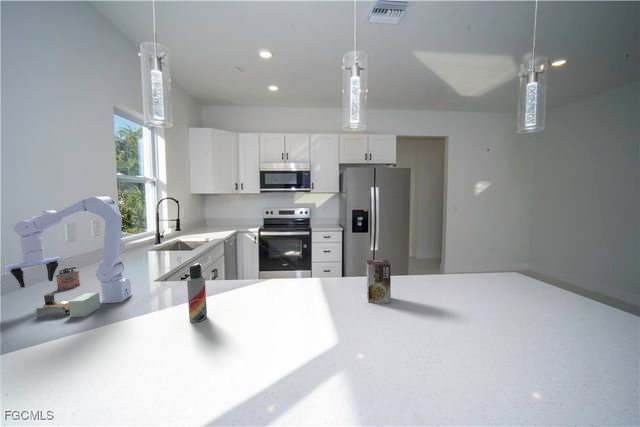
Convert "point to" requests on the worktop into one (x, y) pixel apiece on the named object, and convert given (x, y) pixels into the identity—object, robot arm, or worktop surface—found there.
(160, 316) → the worktop surface
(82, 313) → the socket
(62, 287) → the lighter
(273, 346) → the worktop surface
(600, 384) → the worktop surface
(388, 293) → the coffee box
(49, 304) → the sliding bolt
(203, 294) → the lotion bottle
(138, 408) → the worktop surface
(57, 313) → the grey u channel
